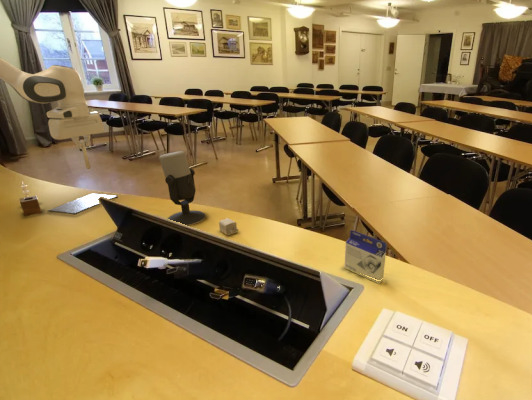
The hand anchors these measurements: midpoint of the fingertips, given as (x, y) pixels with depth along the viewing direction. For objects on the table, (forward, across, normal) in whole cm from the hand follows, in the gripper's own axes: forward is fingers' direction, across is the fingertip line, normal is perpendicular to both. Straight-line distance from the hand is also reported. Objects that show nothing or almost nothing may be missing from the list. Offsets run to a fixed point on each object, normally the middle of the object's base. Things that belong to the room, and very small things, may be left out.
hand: (83, 147), depth 127 cm
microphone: (+22, +8, +48) cm, 54 cm away
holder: (+22, +18, -10) cm, 30 cm away
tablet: (+22, +6, +1) cm, 23 cm away
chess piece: (+23, +12, -19) cm, 32 cm away
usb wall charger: (+22, +15, +69) cm, 74 cm away
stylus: (+9, 0, 0) cm, 9 cm away
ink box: (+22, +29, +115) cm, 121 cm away
